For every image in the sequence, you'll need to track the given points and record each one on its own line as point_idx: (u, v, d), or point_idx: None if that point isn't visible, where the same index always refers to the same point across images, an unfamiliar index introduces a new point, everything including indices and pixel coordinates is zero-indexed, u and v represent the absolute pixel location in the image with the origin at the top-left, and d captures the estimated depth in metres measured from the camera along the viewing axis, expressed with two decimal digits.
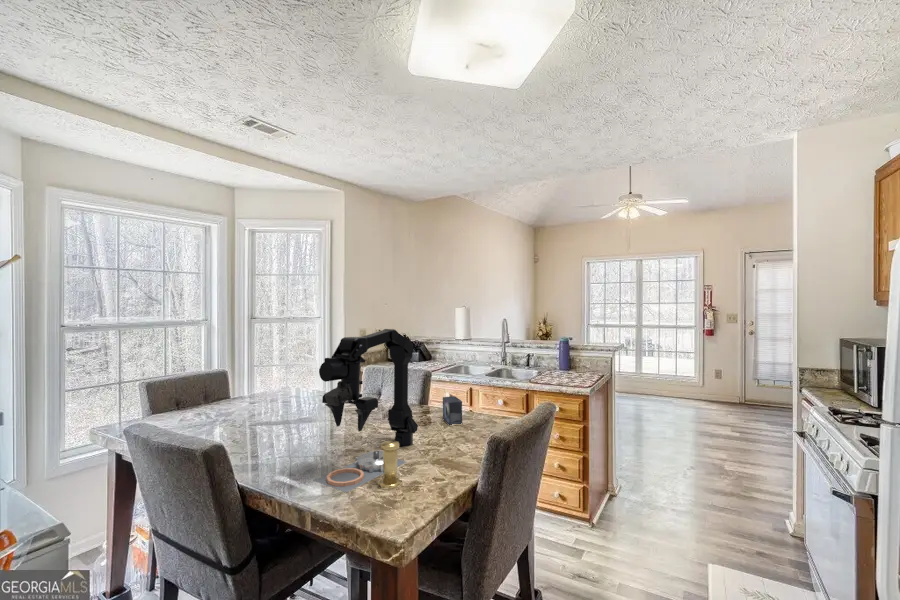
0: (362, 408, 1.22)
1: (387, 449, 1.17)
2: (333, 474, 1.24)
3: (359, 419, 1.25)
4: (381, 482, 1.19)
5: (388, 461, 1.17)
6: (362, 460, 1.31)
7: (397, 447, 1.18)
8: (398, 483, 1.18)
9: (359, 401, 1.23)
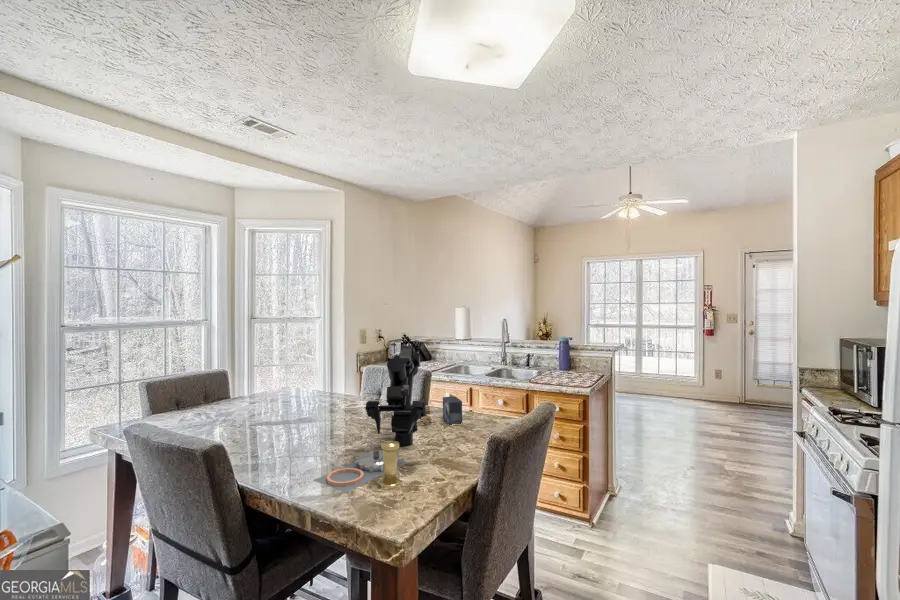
0: (421, 405, 1.30)
1: (387, 449, 1.17)
2: (333, 474, 1.24)
3: (411, 420, 1.28)
4: (381, 482, 1.19)
5: (388, 461, 1.17)
6: (362, 460, 1.31)
7: (397, 447, 1.18)
8: (398, 483, 1.18)
9: (416, 401, 1.31)
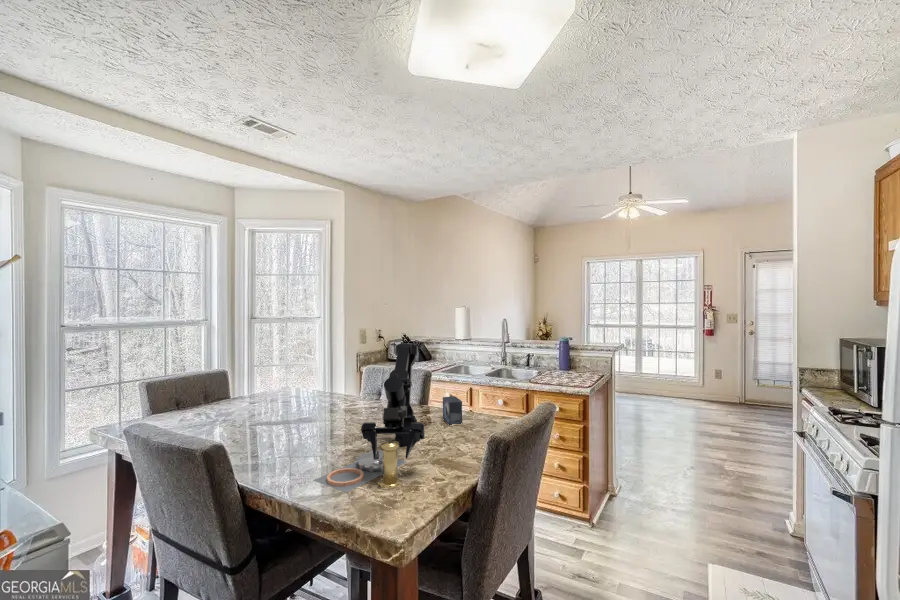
0: (419, 428, 1.23)
1: (387, 449, 1.17)
2: (333, 474, 1.24)
3: (409, 443, 1.22)
4: (381, 482, 1.19)
5: (388, 461, 1.17)
6: (362, 460, 1.31)
7: (397, 447, 1.18)
8: (398, 483, 1.18)
9: (414, 423, 1.25)
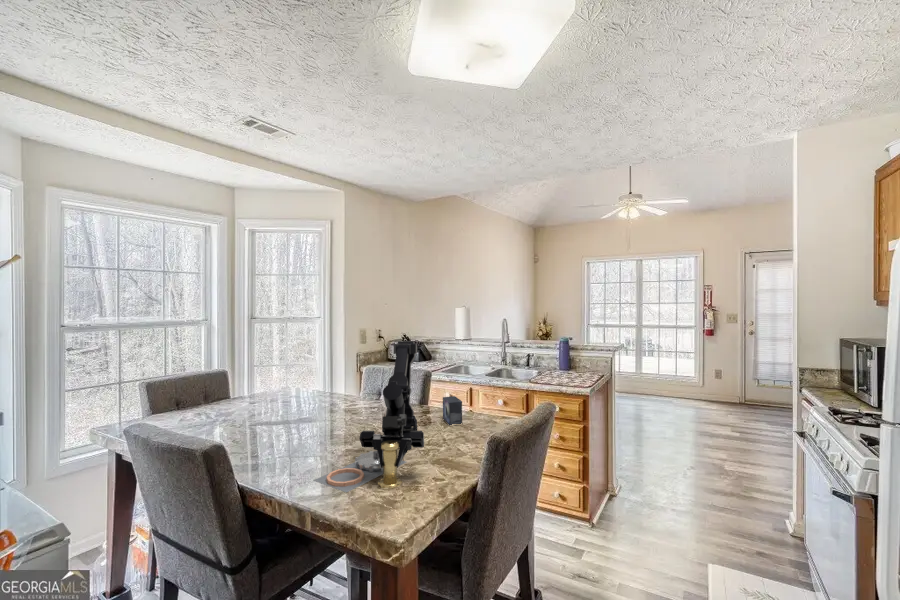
0: (419, 436, 1.21)
1: (387, 449, 1.17)
2: (333, 474, 1.24)
3: (401, 452, 1.20)
4: (381, 482, 1.19)
5: (388, 461, 1.17)
6: (362, 460, 1.31)
7: (397, 447, 1.18)
8: (398, 483, 1.18)
9: (414, 431, 1.23)
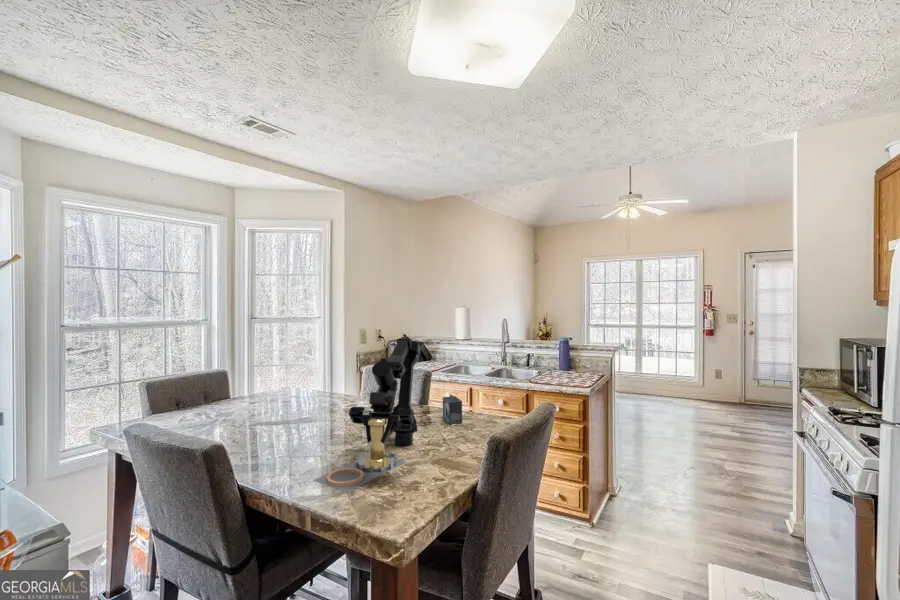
0: (406, 413, 1.20)
1: (373, 424, 1.17)
2: (333, 474, 1.24)
3: (388, 428, 1.19)
4: (368, 457, 1.19)
5: (374, 436, 1.17)
6: (362, 460, 1.31)
7: (383, 423, 1.18)
8: (384, 459, 1.18)
9: (402, 408, 1.22)
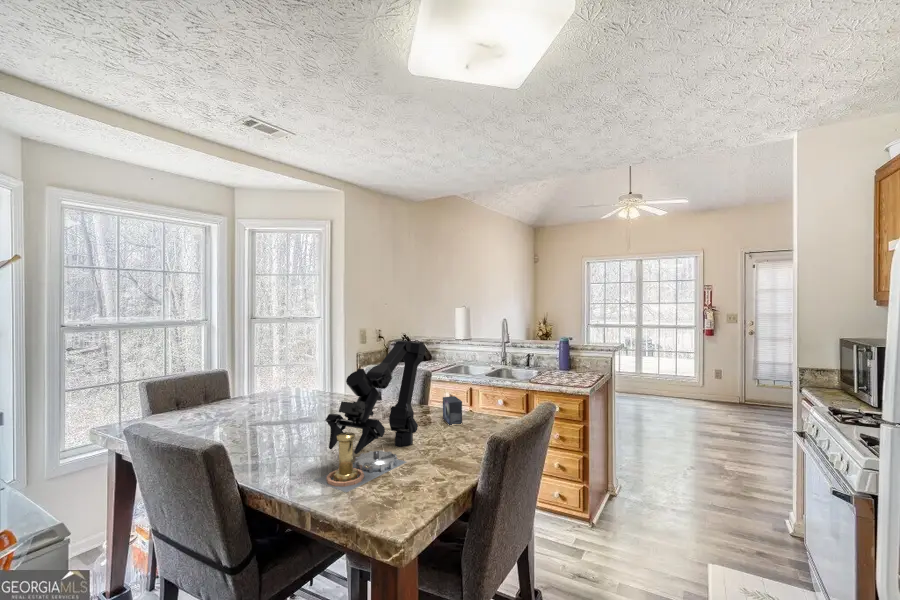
0: (372, 425, 1.20)
1: (339, 440, 1.20)
2: (333, 474, 1.24)
3: (361, 439, 1.20)
4: (338, 471, 1.23)
5: (340, 451, 1.21)
6: (362, 460, 1.31)
7: (349, 439, 1.20)
8: (350, 475, 1.20)
9: (370, 419, 1.23)
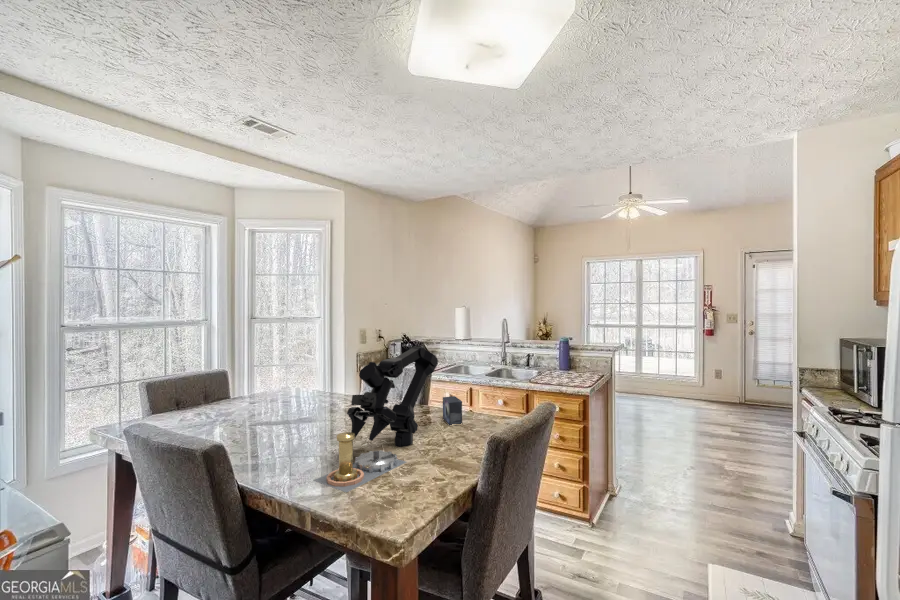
0: (380, 412, 1.28)
1: (339, 440, 1.20)
2: (333, 474, 1.24)
3: (373, 426, 1.29)
4: (338, 471, 1.23)
5: (340, 451, 1.21)
6: (362, 460, 1.31)
7: (349, 439, 1.20)
8: (350, 475, 1.20)
9: (379, 407, 1.30)
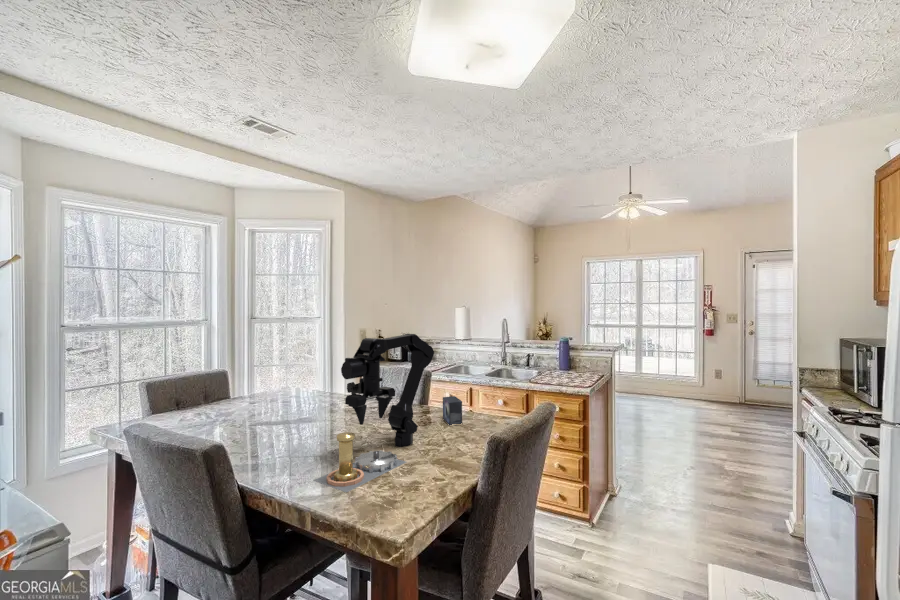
0: None
1: (339, 440, 1.20)
2: (333, 474, 1.24)
3: None
4: (338, 471, 1.23)
5: (340, 451, 1.21)
6: (362, 460, 1.31)
7: (349, 439, 1.20)
8: (350, 475, 1.20)
9: None
